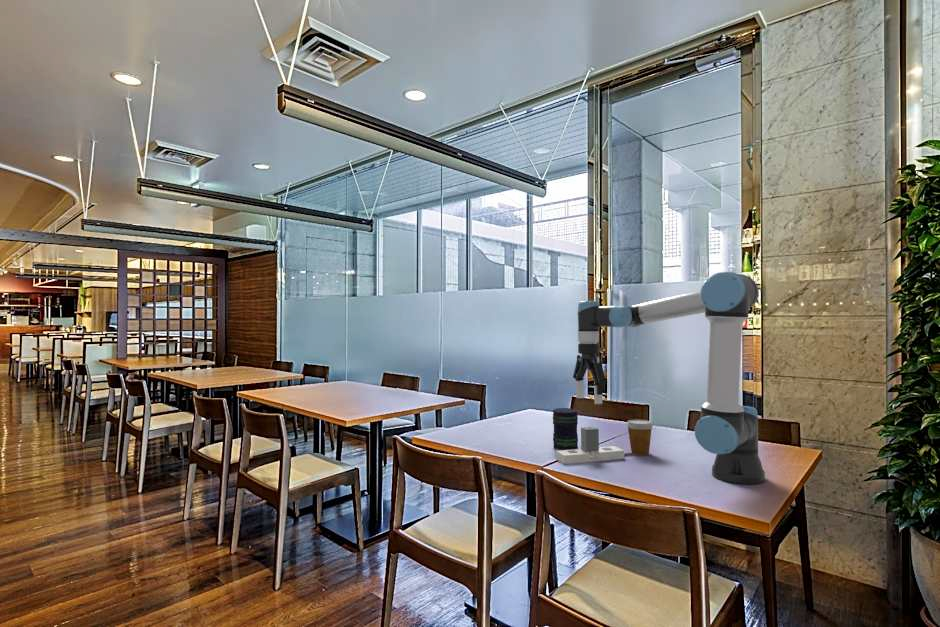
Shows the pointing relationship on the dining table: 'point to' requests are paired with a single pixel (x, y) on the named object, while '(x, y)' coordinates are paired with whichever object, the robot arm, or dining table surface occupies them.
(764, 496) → the dining table surface
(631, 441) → the disposable coffee cup
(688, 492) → the dining table surface
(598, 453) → the power strip
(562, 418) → the storage jar
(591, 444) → the charger
